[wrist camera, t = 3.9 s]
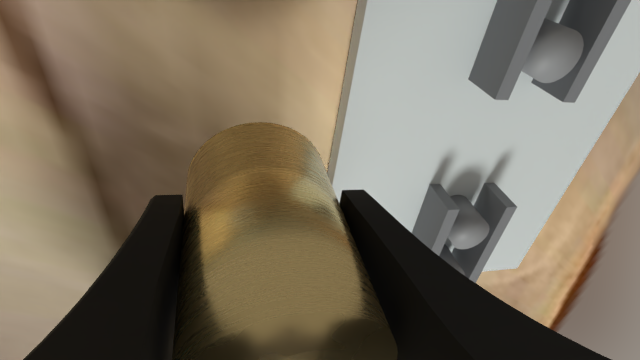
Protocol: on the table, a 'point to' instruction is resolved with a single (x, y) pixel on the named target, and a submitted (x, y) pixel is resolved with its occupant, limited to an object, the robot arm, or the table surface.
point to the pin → (271, 257)
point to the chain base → (478, 114)
